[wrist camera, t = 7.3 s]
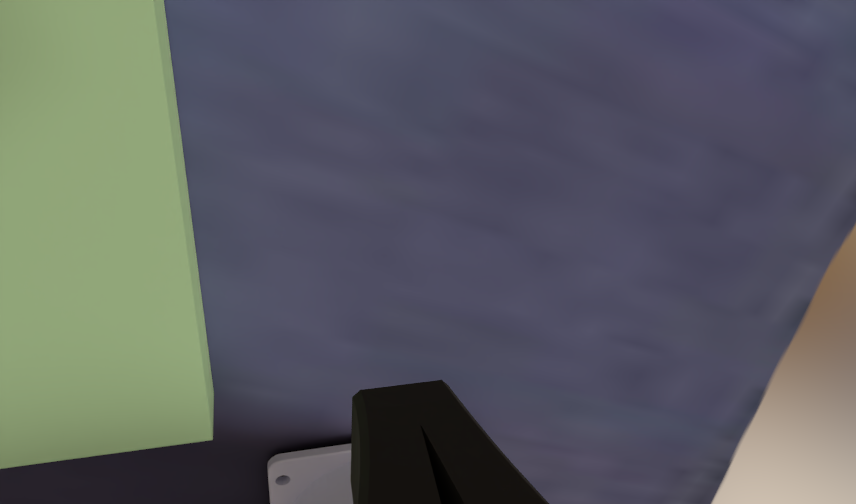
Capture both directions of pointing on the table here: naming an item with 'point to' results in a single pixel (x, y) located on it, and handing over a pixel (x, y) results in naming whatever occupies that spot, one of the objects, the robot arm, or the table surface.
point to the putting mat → (95, 238)
